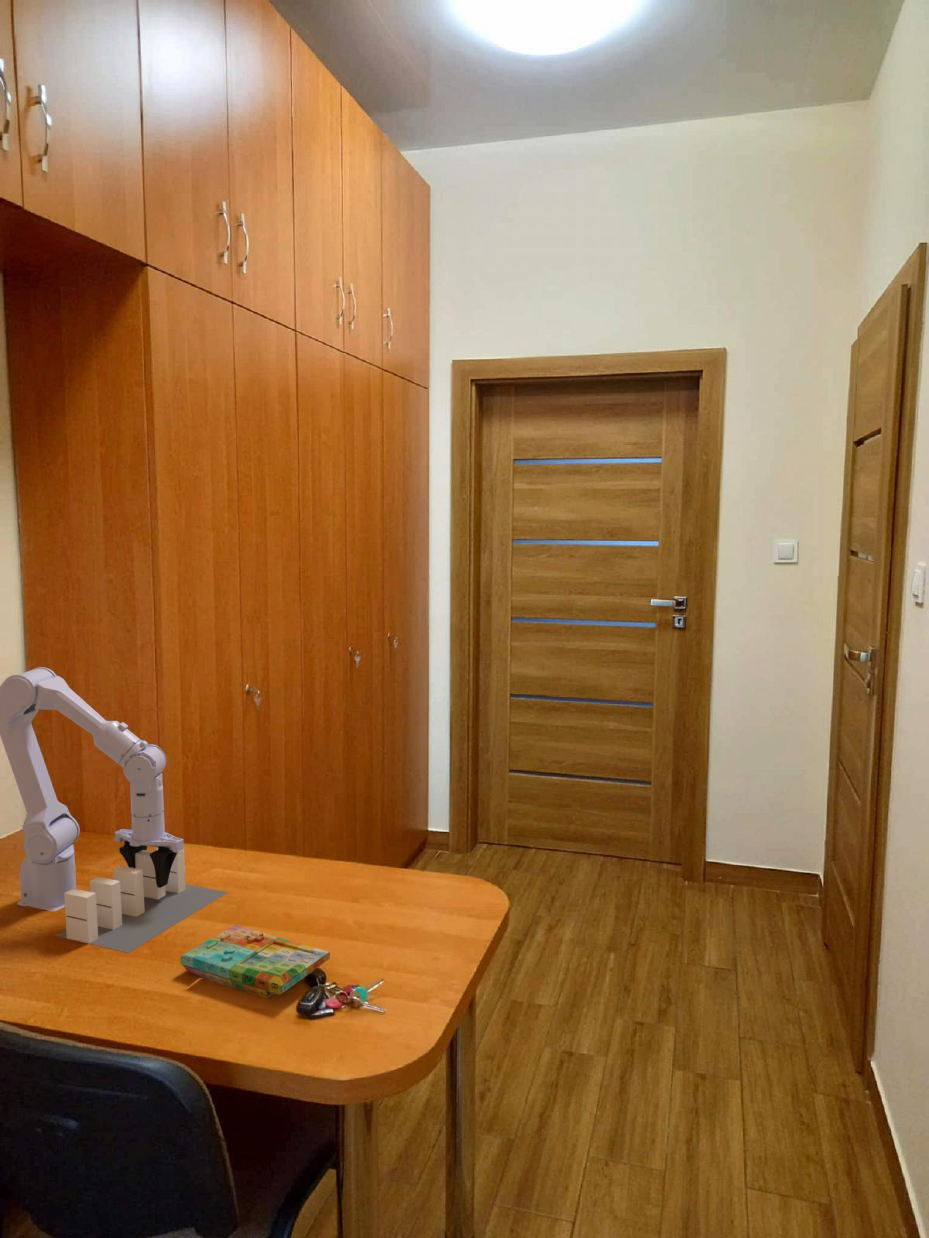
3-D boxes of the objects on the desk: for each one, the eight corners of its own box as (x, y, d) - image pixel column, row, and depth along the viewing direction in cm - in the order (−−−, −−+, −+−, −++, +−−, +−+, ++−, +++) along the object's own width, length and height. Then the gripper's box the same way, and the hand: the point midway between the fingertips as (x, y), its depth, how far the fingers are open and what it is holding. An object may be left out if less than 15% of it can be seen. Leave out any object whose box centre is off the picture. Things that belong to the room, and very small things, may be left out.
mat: (55, 938, 151) (55, 935, 151) (162, 882, 175) (162, 879, 175) (128, 956, 145) (128, 952, 145) (228, 895, 169) (228, 892, 169)
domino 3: (136, 916, 158) (134, 873, 158) (115, 912, 160) (113, 869, 159) (144, 912, 160) (142, 869, 159) (123, 907, 162) (121, 865, 161)
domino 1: (88, 943, 148) (86, 897, 147) (66, 938, 150) (64, 893, 149) (98, 938, 150) (96, 892, 149) (76, 933, 152) (73, 888, 151)
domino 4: (157, 899, 163) (156, 857, 162) (136, 895, 165) (134, 853, 164) (165, 895, 165) (163, 853, 164) (144, 890, 167) (142, 850, 166)
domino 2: (113, 929, 153) (111, 885, 152) (91, 924, 155) (89, 880, 154) (122, 924, 155) (120, 880, 154) (100, 919, 157) (98, 876, 156)
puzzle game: (232, 920, 148) (329, 946, 139) (233, 947, 149) (330, 974, 139) (180, 950, 138) (281, 980, 129) (181, 978, 138) (282, 1011, 129)
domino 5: (178, 893, 168) (176, 852, 168) (157, 889, 170) (156, 849, 170) (185, 889, 170) (184, 849, 169) (165, 885, 172) (163, 845, 171)
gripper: (101, 814, 163) (104, 885, 164) (163, 824, 157) (166, 897, 158) (129, 803, 169) (132, 871, 171) (190, 812, 164) (192, 882, 165)
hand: (150, 883), depth 165 cm, fingers closed on domino 4, 5 cm apart
